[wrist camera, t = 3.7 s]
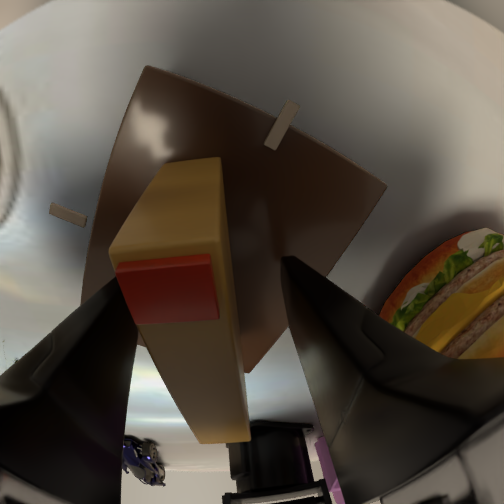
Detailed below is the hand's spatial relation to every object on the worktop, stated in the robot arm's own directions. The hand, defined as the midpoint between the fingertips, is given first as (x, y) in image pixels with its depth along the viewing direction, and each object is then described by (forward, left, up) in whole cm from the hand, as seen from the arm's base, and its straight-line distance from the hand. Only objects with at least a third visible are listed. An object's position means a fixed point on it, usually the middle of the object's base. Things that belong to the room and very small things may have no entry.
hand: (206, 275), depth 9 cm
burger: (-15, -1, -4) cm, 16 cm away
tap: (0, 0, 0) cm, 0 cm away
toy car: (-3, +30, -4) cm, 31 cm away
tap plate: (0, 0, -4) cm, 4 cm away
